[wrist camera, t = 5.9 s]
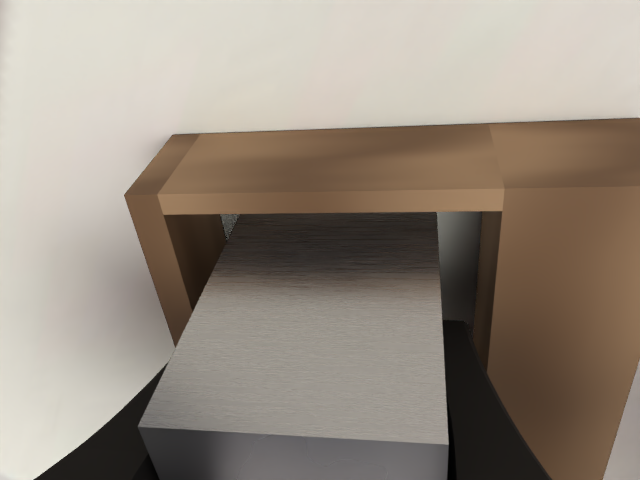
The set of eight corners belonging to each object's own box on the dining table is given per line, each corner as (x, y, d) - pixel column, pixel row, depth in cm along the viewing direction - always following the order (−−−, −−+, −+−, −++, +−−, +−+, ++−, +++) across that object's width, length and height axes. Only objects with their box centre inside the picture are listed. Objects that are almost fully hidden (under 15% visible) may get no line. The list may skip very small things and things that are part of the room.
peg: (435, 193, 14) (448, 444, 8) (433, 336, 16) (441, 604, 10) (248, 196, 14) (137, 427, 9) (274, 332, 17) (201, 578, 11)
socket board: (640, 118, 13) (809, 334, 7) (559, 467, 20) (613, 706, 15) (172, 134, 15) (25, 317, 9) (255, 449, 22) (201, 655, 16)
